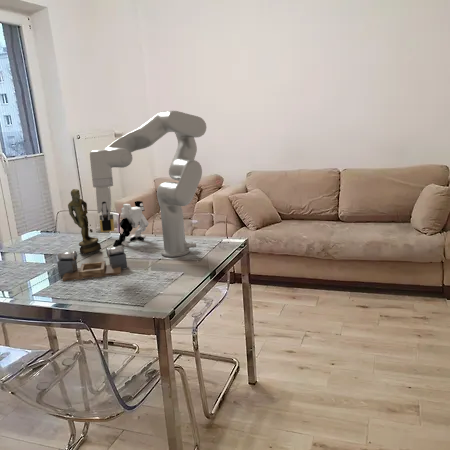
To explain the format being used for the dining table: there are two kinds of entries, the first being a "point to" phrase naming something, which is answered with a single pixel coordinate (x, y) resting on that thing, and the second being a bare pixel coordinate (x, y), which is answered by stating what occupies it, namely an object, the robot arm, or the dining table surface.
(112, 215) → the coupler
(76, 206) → the statue
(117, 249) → the shaft
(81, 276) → the bed
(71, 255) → the shaft
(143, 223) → the robot toy
